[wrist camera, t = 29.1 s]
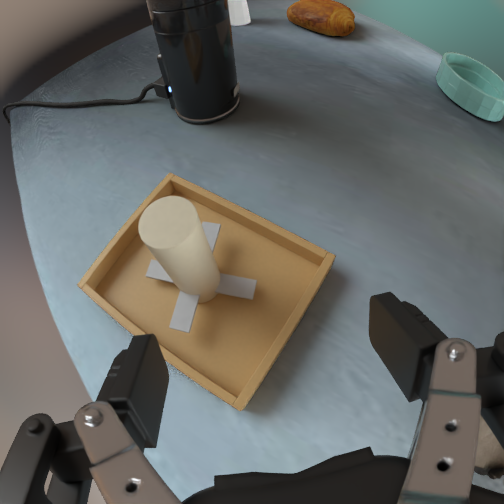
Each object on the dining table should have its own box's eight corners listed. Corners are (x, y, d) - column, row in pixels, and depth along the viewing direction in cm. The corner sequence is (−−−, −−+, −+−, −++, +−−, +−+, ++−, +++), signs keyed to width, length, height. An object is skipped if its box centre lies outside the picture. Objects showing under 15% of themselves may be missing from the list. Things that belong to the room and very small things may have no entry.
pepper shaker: (255, 22, 56) (252, -20, 46) (233, 28, 55) (229, -15, 45) (243, 16, 58) (240, -23, 48) (222, 21, 57) (217, -19, 48)
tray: (89, 293, 30) (76, 284, 28) (175, 186, 36) (169, 172, 33) (243, 410, 25) (240, 411, 22) (331, 267, 30) (336, 255, 28)
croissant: (326, 51, 52) (333, 20, 45) (274, 21, 56) (276, -8, 48) (367, 37, 55) (376, 10, 48) (318, 9, 59) (322, -17, 51)
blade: (135, 321, 28) (73, 278, 18) (168, 227, 32) (131, 155, 23) (242, 349, 27) (224, 317, 17) (266, 243, 31) (263, 168, 21)
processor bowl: (430, 94, 43) (439, 69, 38) (439, 64, 48) (445, 44, 43) (503, 136, 38) (516, 114, 33) (500, 99, 44) (509, 80, 39)
